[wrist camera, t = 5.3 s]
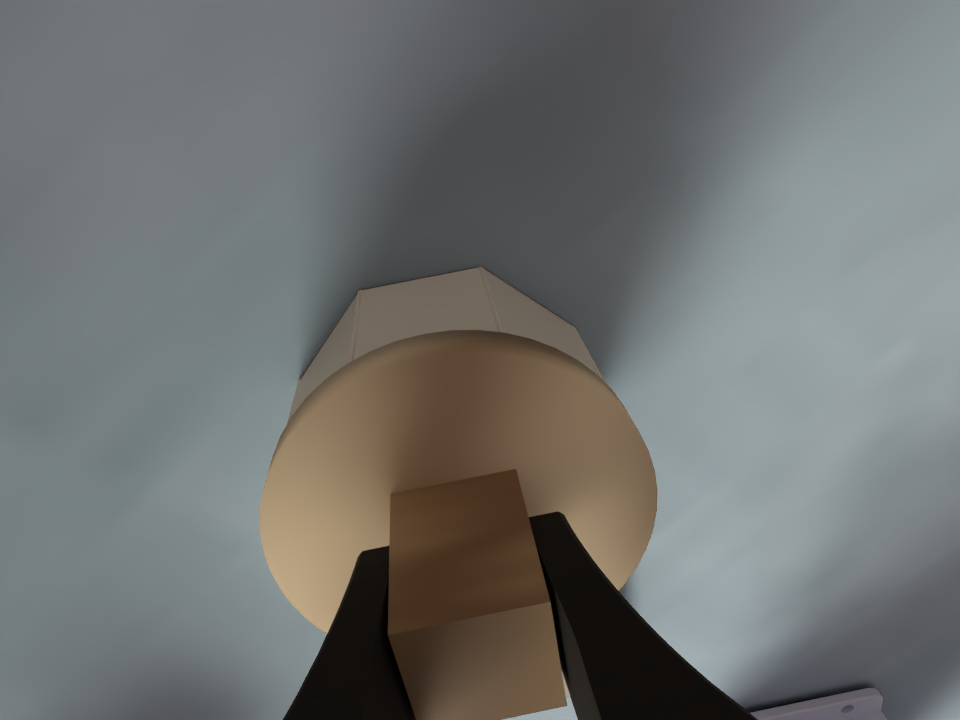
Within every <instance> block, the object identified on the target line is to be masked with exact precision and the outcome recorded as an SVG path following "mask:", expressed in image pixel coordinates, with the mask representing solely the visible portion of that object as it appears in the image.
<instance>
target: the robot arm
mask: <svg viewBox="0 0 960 720" xmlns="http://www.w3.org/2000/svg"><path fill="white" fill-rule="evenodd" d="M529 521H530V525H531V529H532V533H533V536H534V540H535V544H536V548H537V552H538V556H539V560H540V563H541V567H542V571H543V575H544V579H545V583H546V587H547V591H548V594H549V598H550V602H551V608H552V615H553V621H554V627H555V633H556V639H557V646H558V652H559V658H560V664H561V670H562V673H563V676H564V679H565V682H566V685H567V688H568V691H569V694H570V697H571V700H572V703H573V706H574V709H575V712H576V715H577V718H578V720H888V719H887V718H886V716H885V715H884V713H883V712H882V711H881V707H882V703H883V697H882V696H881V694H880V693H879V692H878V690H877V689H874V688H865V689H860V690H855V691H851V692H846V693H841V694H836V695H832V696H827V697H822V698H817V699H813V700H808V701H803V702H798V703H793V704H789V705H784V706H779V707H774V708H770V709H765V710H760V711H755V712H751V713H749V712H748V711H747V710H745V709H744V708H743V707H741V706H740V705H739V704H738V703H736V702H735V701H734V700H733V699H731V698H730V697H729V696H727V695H726V694H725V693H724V692H722V691H721V690H720V689H719V688H717V687H716V686H715V685H713V684H712V683H711V682H710V681H709V680H707V679H706V678H705V677H704V676H703V675H702V674H701V673H699V672H698V671H697V670H696V669H695V668H694V667H693V666H691V665H690V664H689V663H688V662H687V661H686V660H685V659H684V658H683V657H682V656H680V655H679V654H678V653H677V652H676V651H675V650H674V649H673V648H672V647H671V646H670V645H669V644H668V643H667V642H666V641H665V640H664V639H663V638H662V637H661V636H659V635H658V634H657V632H656V631H655V630H654V629H653V628H652V627H651V626H650V625H649V624H648V623H647V622H646V621H645V620H644V619H643V618H642V617H641V616H640V615H639V614H638V613H637V611H636V610H635V609H634V608H633V607H632V606H631V605H630V604H629V603H628V602H627V600H626V599H625V598H624V597H623V596H622V595H621V594H620V592H619V591H618V590H617V589H616V588H615V586H614V585H613V584H612V583H611V581H610V580H609V579H608V578H607V577H606V575H605V574H604V573H603V572H602V570H601V569H600V568H599V567H598V565H597V564H596V563H595V561H594V560H593V559H592V557H591V556H590V555H589V553H588V552H587V550H586V549H585V548H584V546H583V545H582V543H581V542H580V540H579V539H578V537H577V536H576V534H575V533H574V531H573V529H572V528H571V526H570V524H569V523H568V521H567V519H566V517H565V515H564V514H562V513H561V512H559V511H557V512H552V513H547V514H542V515H537V516H532V517H529ZM388 597H389V546H385V547H380V548H375V549H370V550H365V551H362V552H361V553H360V555H359V556H358V558H357V561H356V564H355V567H354V570H353V572H352V575H351V578H350V581H349V583H348V586H347V589H346V591H345V594H344V596H343V599H342V601H341V604H340V606H339V608H338V611H337V613H336V616H335V618H334V620H333V622H332V624H331V627H330V629H329V631H328V633H327V636H326V638H325V640H324V642H323V645H322V647H321V649H320V651H319V653H318V655H317V657H316V659H315V661H314V663H313V665H312V667H311V669H310V671H309V673H308V675H307V676H306V678H305V680H304V682H303V684H302V686H301V688H300V690H299V692H298V694H297V696H296V697H295V699H294V701H293V703H292V705H291V706H290V708H289V710H288V712H287V713H286V715H285V717H284V718H283V720H416V718H415V715H414V712H413V709H412V706H411V703H410V700H409V697H408V694H407V691H406V688H405V685H404V682H403V679H402V676H401V673H400V670H399V667H398V664H397V661H396V658H395V655H394V652H393V649H392V646H391V643H390V640H389V637H388Z"/></svg>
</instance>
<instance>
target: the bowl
mask: <svg viewBox="0 0 960 720" xmlns="http://www.w3.org/2000/svg"><path fill="white" fill-rule="evenodd" d="M449 330H484V331H494V332H503V333H509V334H513V335H517V336H522V337H526V338H530V339H533V340H536V341H539V342H541V343H544V344H547V345H549V346H552V347H555V348H557V349H559V350H560V351H562V352H564V353H566V354H568V355H570V356H572V357H573V358H575V359H577V360H578V361H580V362H581V363H582V364H584V365H585V366H587V367H588V368H589V369H591V370H592V371H593V372H595V373H596V374H597V375H598V376H599V377H600V378H601V379H602V380H603V381H604V379H603V377H602V375H601V373H600V371H599V370H598V368H597V366H596V364H595V362H594V361H593V359H592V357H591V355H590V353H589V352H588V350H587V348H586V346H585V344H584V342H583V341H582V339H581V337H580V335H579V333H578V332H577V330H576V328H575V326H572V325H570V324H568V323H567V322H565V321H564V320H562V319H561V318H559V317H558V316H556V315H555V314H553V313H551V312H550V311H548V310H547V309H545V308H544V307H542V306H541V305H539V304H537V303H536V302H534V301H533V300H531V299H530V298H528V297H527V296H525V295H524V294H522V293H520V292H519V291H517V290H516V289H514V288H513V287H511V286H510V285H508V284H506V283H505V282H503V281H502V280H500V279H499V278H497V277H496V276H494V275H493V274H491V273H489V272H488V271H486V270H485V269H483V267H480V266H479V267H478V268H473V269H468V270H463V271H458V272H453V273H448V274H443V275H438V276H433V277H427V278H422V279H417V280H412V281H407V282H402V283H397V284H392V285H387V286H381V287H376V288H371V289H366V290H361V289H360V291H358V294H357V295H356V297H355V298H354V300H353V301H352V303H351V304H350V306H349V307H348V309H347V310H346V312H345V313H344V315H343V316H342V318H341V320H340V321H339V323H338V324H337V326H336V327H335V329H334V330H333V332H332V333H331V335H330V336H329V338H328V339H327V341H326V342H325V344H324V345H323V347H322V348H321V350H320V351H319V353H318V354H317V356H316V357H315V359H314V360H313V362H312V363H311V365H310V366H309V368H308V369H307V371H306V372H305V374H304V375H303V377H302V378H301V380H298V384H297V388H296V392H295V396H294V400H293V404H292V407H291V411H290V415H289V419H288V422H289V420H290V419H291V417H292V415H293V414H294V413H295V411H296V410H297V409H298V408H299V406H300V405H301V404H302V402H303V401H304V400H305V399H306V397H307V396H308V395H309V394H310V393H311V392H313V391H314V390H315V389H316V388H317V387H318V386H319V385H320V384H321V383H322V382H323V381H324V380H325V379H326V378H328V377H329V376H331V375H332V374H333V373H335V372H336V371H338V370H339V369H340V368H342V367H343V366H344V365H346V364H347V363H349V362H351V361H353V360H355V359H357V358H358V357H360V356H362V355H364V354H366V353H368V352H370V351H372V350H374V349H377V348H379V347H382V346H385V345H387V344H390V343H392V342H395V341H398V340H402V339H406V338H410V337H413V336H417V335H421V334H427V333H434V332H442V331H449ZM604 382H605V381H604ZM605 383H606V382H605ZM287 424H288V423H287Z"/></svg>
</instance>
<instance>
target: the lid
mask: <svg viewBox="0 0 960 720" xmlns="http://www.w3.org/2000/svg"><path fill="white" fill-rule="evenodd" d="M557 511H559V512H561V513H562V514H564V515H565V517H566V519H567V521H568V523H569V524H570V526H571V528H572V529H573V531H574V533H575V534H576V536H577V537H578V539H579V540H580V542H581V543H582V545H583V546H584V548H585V549H586V550H587V552H588V553H589V555H590V556H591V557H592V559H593V560H594V561H595V563H596V564H597V565H598V567H599V568H600V569H601V570H602V572H603V573H604V574H605V575H606V577H607V578H608V579H609V580H610V581H611V583H612V584H613V585H614V586H615V588H616V589H617V590H618V591H619V590H620V589H621V588H622V587H623V585H624V584H625V583H626V582H627V580H628V579H629V577H630V576H631V574H632V573H633V572H634V570H635V569H636V567H637V565H638V564H639V562H640V560H641V558H642V556H643V554H644V552H645V550H646V548H647V545H648V542H649V539H650V537H651V534H652V531H653V527H654V521H655V516H656V511H657V484H656V477H655V470H654V467H653V464H652V460H651V457H650V454H649V451H648V449H647V447H646V445H645V443H644V441H643V439H642V437H641V435H640V433H639V431H638V429H637V428H636V426H635V424H634V422H633V421H632V419H631V417H630V416H629V414H628V412H627V410H626V409H625V407H624V405H623V404H622V403H621V401H620V400H619V399H618V397H617V396H616V394H615V393H614V392H613V390H612V389H611V388H610V387H609V386H608V385H607V384H606V383H605V382H604V381H603V380H602V379H601V378H600V377H599V376H598V375H597V374H596V373H595V372H593V371H592V370H591V369H589V368H588V367H587V366H585V365H584V364H582V363H581V362H580V361H578V360H577V359H575V358H573V357H572V356H570V355H568V354H566V353H564V352H562V351H560V350H559V349H557V348H555V347H552V346H549V345H547V344H544V343H541V342H539V341H536V340H533V339H530V338H526V337H522V336H517V335H513V334H509V333H503V332H494V331H484V330H449V331H442V332H434V333H427V334H421V335H417V336H413V337H410V338H406V339H402V340H398V341H395V342H392V343H390V344H387V345H385V346H382V347H379V348H377V349H374V350H372V351H370V352H368V353H366V354H364V355H362V356H360V357H358V358H357V359H355V360H353V361H351V362H349V363H347V364H346V365H344V366H343V367H342V368H340V369H339V370H338V371H336V372H335V373H333V374H332V375H331V376H329V377H328V378H326V379H325V380H324V381H323V382H322V383H321V384H320V385H319V386H318V387H317V388H316V389H315V390H314V391H313V392H311V393H310V394H309V395H308V396H307V397H306V399H305V400H304V401H303V402H302V404H301V405H300V406H299V408H298V409H297V410H296V411H295V413H294V414H293V415H292V417H291V419H290V420H289V422H288V424H287V426H286V427H285V429H284V431H283V433H282V434H281V436H280V439H279V442H278V444H277V447H276V449H275V452H274V455H273V458H272V461H271V465H270V468H269V472H268V475H267V479H266V482H265V486H264V490H263V495H262V501H261V506H260V534H261V541H262V548H263V552H264V555H265V558H266V561H267V564H268V567H269V569H270V571H271V573H272V575H273V577H274V579H275V581H276V583H277V585H278V586H279V588H280V589H281V591H282V592H283V593H284V595H285V596H286V597H287V599H288V600H289V601H290V603H291V604H292V605H293V606H294V607H295V608H296V609H297V610H298V611H299V612H300V613H301V614H302V615H303V616H304V617H305V618H306V619H307V620H309V621H310V622H311V623H313V624H314V625H315V626H317V627H318V628H319V629H320V630H322V631H323V632H325V633H328V631H329V629H330V627H331V624H332V622H333V620H334V618H335V616H336V613H337V611H338V608H339V606H340V604H341V601H342V599H343V596H344V594H345V591H346V589H347V586H348V583H349V581H350V578H351V575H352V572H353V570H354V567H355V564H356V561H357V558H358V556H359V555H360V553H361V552H362V551H365V550H370V549H375V548H380V547H385V546H389V597H388V637H389V640H390V643H391V646H392V649H393V652H394V655H395V658H396V661H397V664H398V667H399V670H400V673H401V676H402V679H403V682H404V685H405V688H406V691H407V694H408V697H409V700H410V703H411V706H412V709H413V712H414V715H415V718H416V720H501V719H506V718H511V717H516V716H520V715H525V714H530V713H535V712H540V711H544V710H549V709H554V708H559V707H564V706H567V702H566V695H565V689H564V683H563V677H562V670H561V664H560V658H559V652H558V646H557V639H556V633H555V627H554V621H553V615H552V608H551V602H550V598H549V594H548V591H547V587H546V583H545V579H544V575H543V571H542V567H541V563H540V560H539V556H538V552H537V548H536V544H535V540H534V536H533V533H532V529H531V525H530V521H529V517H532V516H537V515H542V514H547V513H552V512H557Z"/></svg>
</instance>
